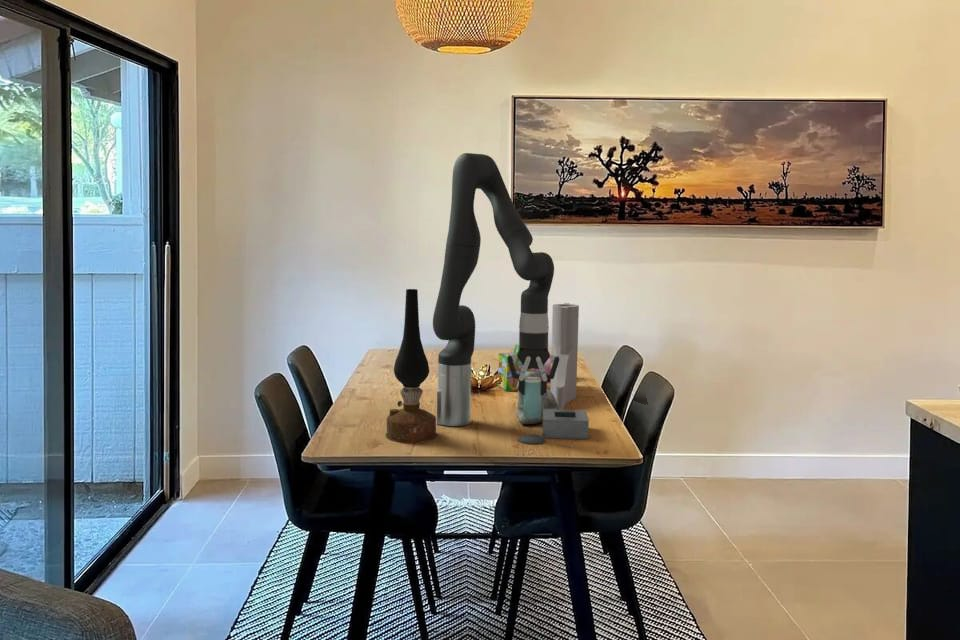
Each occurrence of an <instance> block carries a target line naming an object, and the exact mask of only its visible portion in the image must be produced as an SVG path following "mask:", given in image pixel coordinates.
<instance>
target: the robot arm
mask: <svg viewBox="0 0 960 640" xmlns="http://www.w3.org/2000/svg"><path fill="white" fill-rule="evenodd" d="M451 183H452V184H451V202H450V203H451V204H450V214H449V221H448V223H449V225H448V231H447V238H446V243H445V250H444V259H443V268H442V272H441V273H442V274H441V279H440V287H439V289H438V290H439V291H438V295H437V298H436V302H435V306H434V307H435V308H434V311H433V318H432V329H433V332H434V334H435V337H437V338H438V339H439V340H441V341H447V344H446V346H445V347H444V348H443V349H441V351H439V352H438V356H437V359H438V361H437V363H438V364H437V365H438V366H437V367H438V368H437V390H436V425H441V426H448V427H460V426H461V427H462V426H468V425H469V424H470V423H471V401H472V400H471V396H472V395H471V394H472V393H471V390H472V389H471V386H472V385H471V384H472V377H471V376H472V356H473V354H474V352H475V343H476V342H475V340H476V339H475V338H476V318H475V315H474V312H473V310H472V309H471V308H470V307H469V306H466V305H462V304H460V302H461V297H462V293H463V292H464V288H465V286H466V285H467V283H468V281H469V280H470V279H471V276H472V274H473V273H474V271H475V269H476V268H477V266H478V265H477V264H478V263H479V256H480V251H481V241H482V240H481V232H480V228H479V225H478V221H477V219H476V215H475V209H474V206H475V197H476V195H475V194H476V190H479V189H480V190H481V191H482V193H483V194H484V195H485V196H486V197H487V199H488V201H489V202H490V204H491V205H490V206H491V207H492V211H493V212H492V214H493V222H494V225H495V228H496V231H497V232H498V234H499V236H500V238H501V239H502V241H503V243H504V244H505V246H506V247H507V249H508V253H509V257H510V260H511V263H512V266H513V269H514V271H515V273H516V274H517V275H518V276H519V277H520V278H521V279H522V280H525V281H529V286H528V287H527V288H526V289H524V290H523V291H522V292H521V294H520V314H519V321H518V323H519V324H518V331H519V334H518V336H519V337H518V340H519V341H518V345H519V351H518V350H517V351H518V353H517V352H516V353H517V354H514V355H508V358H507V359H508V363H509V367H510V371H511V374H512V377H513V378H516V379H518V380H519V393H521V395H524V376H525V373H526V371H527V369H532V368H534V369H539V370H540V373H541V376H542V385H541V395H544V393H546V392H547V389H548V382H549V380H550V381H551V379H554V376H555V373H556V370H557V366H558V363H559V356H553V355H551V353H550V351H549V330H550V329H549V323H550V322H549V315H548V314H549V294H550V291H551V288H552V284H553V281H554V280H553V279H554V274H555V263H554V260H553V258H552V257H551V255H550V254H548V253H547V252H543V251H541V252H538V251H537V252H533V251H532V250H531V245H532V244H533V240H534V238H533V235H532V234H531V232H530V230H529V229H528V227H527V225H526V224H525V222H524V221H523V219H522V217H521V216H520V213H519V212H518V210H517V209H516V206H515V205H514V203H513V201H512V198H511V197H510V196H511V195H510V193H509V191H508V189H507V186H506V185H505V182H504V179H503V177H502V174H501V172H500V169H499V167H498V165H497V162H496V161H495V159H494V158H492V156H490V155H487V154H483V153H472V152H466V153H462V154H459V156H458V157H457V158H456V160H455V162H454V164H453V169H452V179H451ZM517 358H518V359H519V360H520V361H521V363H522V364H523V366H522V369H521V372H520V374H518V373H516V369H515V365H514V363H515V362H516V359H517ZM548 359H550V360H551V363H552V368H551V371H550V374H547V375H546V372H545V369H544V364H545V363H546V362H547V360H548Z"/></svg>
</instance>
